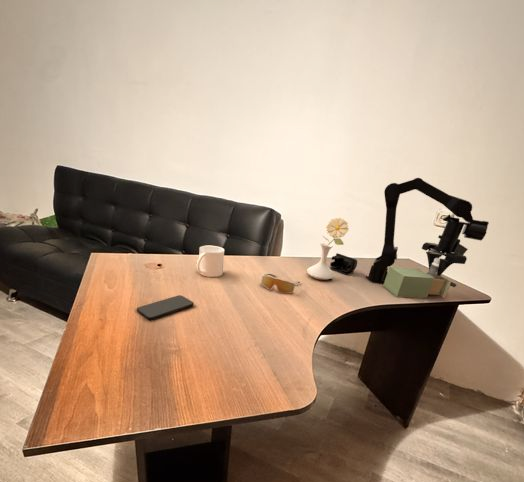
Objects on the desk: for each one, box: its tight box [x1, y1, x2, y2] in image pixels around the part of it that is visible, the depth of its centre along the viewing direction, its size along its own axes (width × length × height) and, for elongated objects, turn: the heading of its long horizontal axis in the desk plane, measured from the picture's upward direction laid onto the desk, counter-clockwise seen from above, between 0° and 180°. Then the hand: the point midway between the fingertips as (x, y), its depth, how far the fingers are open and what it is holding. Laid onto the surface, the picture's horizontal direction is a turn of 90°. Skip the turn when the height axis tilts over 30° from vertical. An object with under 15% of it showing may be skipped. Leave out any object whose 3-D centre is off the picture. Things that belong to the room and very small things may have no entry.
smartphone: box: [136, 294, 195, 321], centre depth 87 cm, size 7×1×15 cm
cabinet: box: [382, 266, 435, 299], centre depth 123 cm, size 14×11×9 cm
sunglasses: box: [261, 273, 302, 294], centre depth 113 cm, size 14×15×5 cm
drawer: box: [426, 272, 457, 297], centre depth 126 cm, size 17×9×7 cm, turn 100°
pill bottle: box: [427, 257, 442, 279], centre depth 122 cm, size 5×5×8 cm
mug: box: [195, 245, 225, 278], centre depth 113 cm, size 12×9×9 cm
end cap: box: [329, 252, 358, 276], centre depth 138 cm, size 10×7×7 cm
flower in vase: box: [306, 217, 349, 281], centre depth 121 cm, size 13×11×25 cm
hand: (434, 273), depth 123 cm, fingers closed on pill bottle, 5 cm apart
